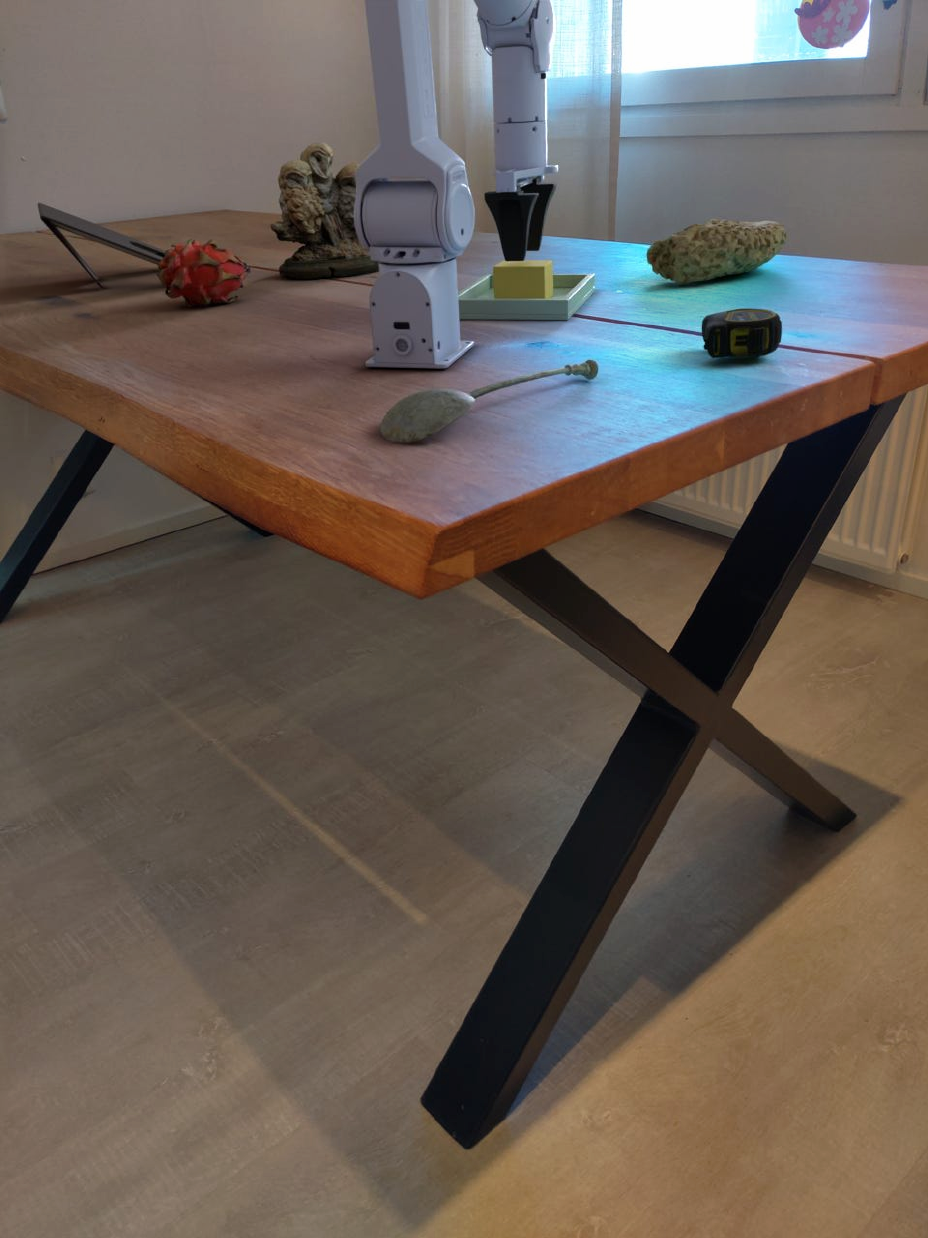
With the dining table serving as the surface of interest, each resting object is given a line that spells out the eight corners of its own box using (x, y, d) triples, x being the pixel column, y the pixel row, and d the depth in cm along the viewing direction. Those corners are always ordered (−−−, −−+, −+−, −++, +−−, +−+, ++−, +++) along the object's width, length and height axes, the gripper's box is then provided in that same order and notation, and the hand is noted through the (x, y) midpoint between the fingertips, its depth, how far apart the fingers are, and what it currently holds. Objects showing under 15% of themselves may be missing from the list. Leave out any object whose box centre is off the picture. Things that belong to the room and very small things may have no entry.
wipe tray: (568, 320, 108) (568, 299, 107) (447, 319, 112) (446, 299, 111) (594, 291, 122) (594, 273, 121) (486, 291, 126) (485, 273, 125)
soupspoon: (363, 440, 76) (417, 463, 72) (358, 397, 74) (414, 417, 70) (565, 370, 88) (622, 386, 84) (565, 332, 86) (624, 346, 82)
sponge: (693, 301, 120) (827, 247, 124) (678, 234, 117) (815, 181, 121) (637, 305, 131) (761, 255, 136) (622, 244, 129) (749, 196, 133)
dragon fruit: (156, 322, 126) (249, 323, 132) (168, 288, 119) (266, 290, 124) (145, 260, 128) (238, 264, 133) (156, 222, 120) (253, 227, 126)
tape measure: (699, 348, 94) (701, 307, 92) (775, 347, 93) (779, 305, 91) (701, 366, 88) (704, 322, 86) (783, 365, 87) (787, 321, 85)
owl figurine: (296, 284, 137) (279, 146, 130) (260, 275, 146) (242, 146, 138) (408, 267, 146) (398, 137, 138) (367, 259, 155) (356, 136, 147)
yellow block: (545, 303, 114) (544, 266, 112) (493, 303, 115) (492, 266, 114) (553, 295, 118) (552, 259, 116) (503, 295, 119) (502, 260, 117)
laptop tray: (198, 328, 143) (218, 265, 141) (27, 268, 132) (44, 198, 130) (177, 303, 162) (194, 247, 160) (26, 249, 151) (41, 187, 149)
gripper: (542, 122, 101) (543, 265, 107) (570, 117, 113) (569, 245, 119) (474, 125, 103) (479, 265, 109) (509, 120, 115) (512, 246, 121)
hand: (522, 255), depth 114 cm, fingers open, 7 cm apart
